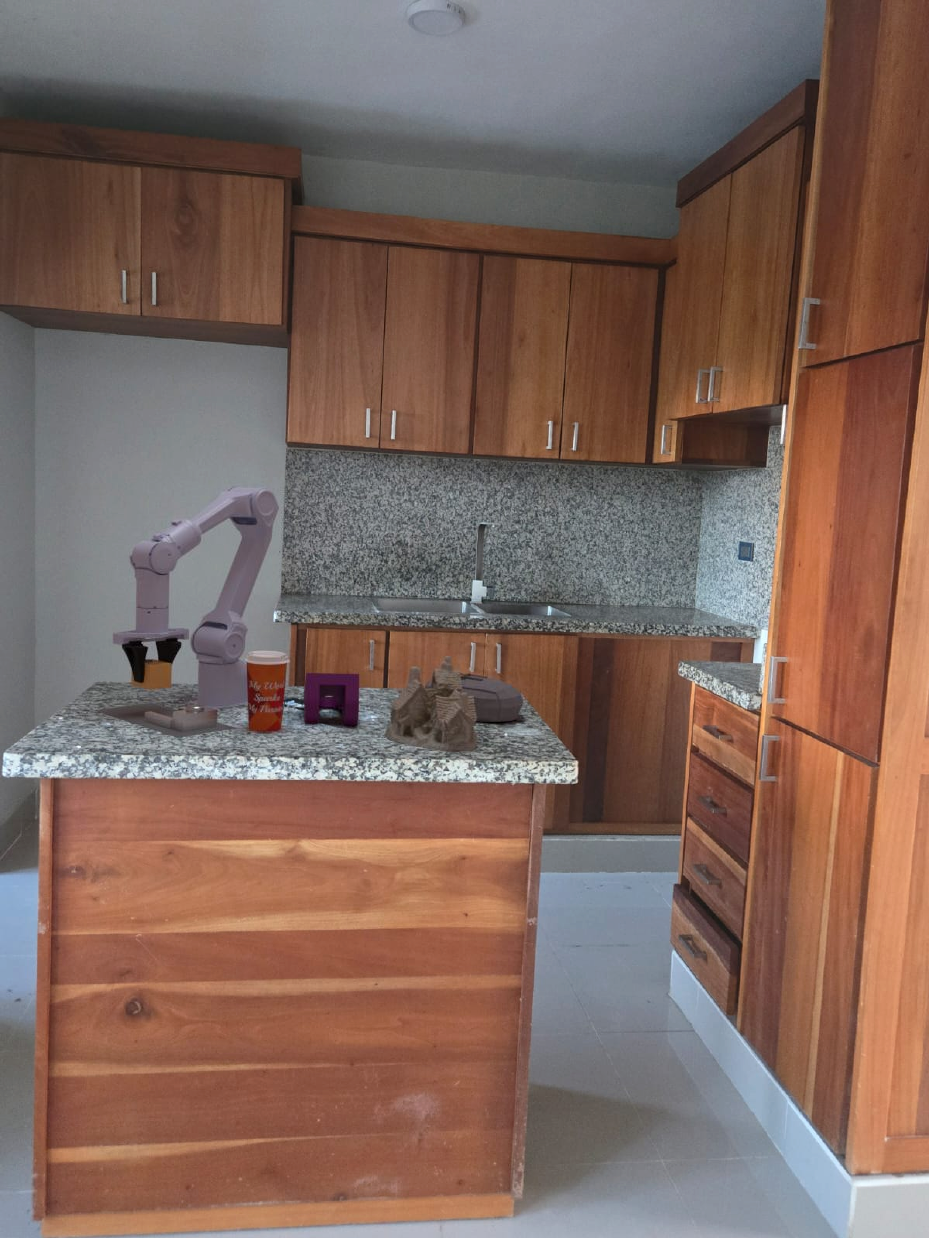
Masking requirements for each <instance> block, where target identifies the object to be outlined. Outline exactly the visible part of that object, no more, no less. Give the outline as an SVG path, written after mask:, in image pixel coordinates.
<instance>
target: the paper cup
mask: <svg viewBox="0 0 929 1238" xmlns="http://www.w3.org/2000/svg"><path fill="white" fill-rule="evenodd" d="M288 658H289V656H288V655H287V653H285V652H282V651H275V650H254V651H249V652H248V653H247V656H246V658H245V659H244V662H245V663H246V665H247V694H248V704H247V715H248V716H247V718H248V720H247V721H248V730H250V731H253V732H259V733H260V732H263V733H267V732H268V733H271V732H277V731H280V730H282V726H283V725H282V723H283V714H284V704H285V703H284V702H285V693H286V692H285V690H286V681H287V679H286V678H287V668H288V663H291V660H289V659H288Z"/></svg>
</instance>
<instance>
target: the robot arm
mask: <svg viewBox="0 0 929 1238" xmlns="http://www.w3.org/2000/svg"><path fill="white" fill-rule="evenodd" d="M275 495H276V494H274V491H272V489H270V488H268V487H263V486H262V487H245V486H244V487H243V486H236V485H234V486H233V485H232V486H230V487H227V489H226V490H224V491H222V492H220V493H219V496H218V498H216V499H215V500H213V501H212V502H211V503H209V504H208V506H206V507H204V508H203V509H202V510H201V511H200V512H198V513H197V514H196V515H195V516H193V517H192V518H191V519H190V520H189V519H186V518H181V519H179V518H175V519H173V520H171V522H170V523H171V525H170V526H168V527H166V529H164V530H162V531H161V532H159V533H158V532H156V533H155V534H153V535H152V537H153V538H151V540H142V541H140V542H138V543H137V544H136V545H135V546H134V548H133V549H132V551H131V555H129V557H128V558H129V564H130V565H131V567H132V569H133V570H134V578H135V580H136V581H135V582H136V583H135V584H136V586H135V587H136V588H135V589H136V590H135V591H136V592H135V596H136V599H135V629H134V630H133V629H132V630H125V631H120V632H113V633H112V644H115V645H117V646H118V645H119V646H120V645H121V649H122V651H123V652H124V654H125V655H126V658H127V660H128V663H129V666H130V669H131V674H132V673H133V677H134V681H135V682H139V683H143V682H144V674H145V659H147V654H148V650H149V647H148V646H146V645H144V643H149V642H150V643H151V642H154V643H155V647H156V650H157V651H156V652H157V653H156V654H157V660H159V661H163V662H167V663H171V664H172V665H173V664H174V661H175V658H176V656H177V655H178V653H179V651H180V649H182V642H181V641H180V640H187V641H188V640H189V639H190V641H189V642H190V648H191V650H192V652H193V653H194V654H195V656H196V657H195V658H196V660H198V666H197V700H196V699H195V700H190V701H188V704H189V703H190V704H200V705H204V706H205V707H210V708H213V709H219V708H226V707H233V706H240V705H248V694H247V663H246V662H245V660H242V659H240V658H241V657H242V655H243V654H244V652H245V649H246V637H247V633H248V632H249V631H248V630H249V629H248V628H247V626H246V624H245V622H244V620H243V619H242V618H243V616H244V613H245V610H246V607H247V606H248V605H247V604H248V602H249V600H250V597H251V594H252V592H253V589H254V586H255V583H256V581H257V579H258V576H259V573H260V571H261V568H262V566H263V563H264V561H265V557H266V554H267V552H268V549H269V547H270V544H271V542H272V538H273V531H274V530H273V528H274V523H275V520H276V518H277V515H278V513H279V510H280V506H279V504H278V500H277V498H276V496H275ZM228 519H229V520H230V521H231V523H232V524H233V525H234V527H235V528H236V530H237V531H238V532H239V533H240V535H241V540H240V543H239V545H238V548H237V550H236V552H235V556H234V558H233V561H232V563H231V566H230V569H229V571H228V574H227V576H226V579H225V581H224V584H223V586H222V589H221V592H220V593H219V597H218V598H217V599H218V600H217V602H216V603H215V604H216V605H215V607H214V609H212V610H211V611H209V612H208V613H207V614H205V615H204V616H202V618H201V620H200V623H199V624H198V626H197V627H196V628H195V629H194V630H193V631H192V633H191V636H190V629H189V628H184V627H182V628H181V627H180V628H179V627H178V628H169V625H170V624H169V621H170V620H169V619H170V617H169V615H170V611H169V610H170V609H169V607H170V606H169V605H170V573H171V572H173V571H174V570H175V568H176V567H177V563H178V560H180V559H181V558H182V557H184V556H185V555H186V554H187V553H189V552H191V551H192V550H193V549H194V548H196V547H198V546H199V545H200V543H201V542H202V535H204V534H205V533H207V532H209V531H210V530H212V529H213V528H215V527H217V526H219V525H220V524H221V523H224V521H227V520H228Z"/></svg>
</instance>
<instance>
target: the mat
mask: <svg viewBox="0 0 929 1238" xmlns="http://www.w3.org/2000/svg"><path fill="white" fill-rule="evenodd" d="M94 711H95V712H98V713H101V714H105V715H107V716H110V717H112V718H113V717H114V718H116V719H120V720H123V721H125V722H129V723H131V724H134V725H138V726H139V727H140V726H141V727H143V728H147V729H149V730H153V731H156V732H159V733H162V734H164V735H168V736H172V737H174V738H184V737H191V736H192V737H193V736H196V735H202V734H209V733H215V732H221V731H222V732H223V731H228V730H233V729H234V730H235V729H236V727H235V726H232V725H229V724H225V723H222V722H219V721H217V726H216V727H209V728H203V729H197V730H191V731H184V732H182V731H179V730H176V729H169V728H165V727H162V726H159V725H156V724H153V723H150V722H147V721H145V712H149V711H152V712H155V713H158V714H161V715H165V716H168V717H171V718H173V712H174V711H178V709H174V708H171V707H168V706H165V705H161V704H158V703H154V702H147V703H146V702H145V703H139V704H131V705H130V704H129V705H124V706H115V707H108V708H100V709H94Z"/></svg>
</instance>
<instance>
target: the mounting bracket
mask: <svg viewBox="0 0 929 1238" xmlns="http://www.w3.org/2000/svg"><path fill="white" fill-rule="evenodd" d="M304 680H305V681H304V687H303V705H304V707H303V708H304V709H303V711H304V712H303V715H304V716H303V718H304V719H303V720H304V724H319V719H320V717H319V715H320V709H337V710H338V709H339V710H340V709H342V723H343V726H358V723H359V713H360V673H333V672H331V673H330V672H329V673H327V672H324V673H323V672H322V673H321V672H319V673H318V672H305V679H304Z"/></svg>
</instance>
